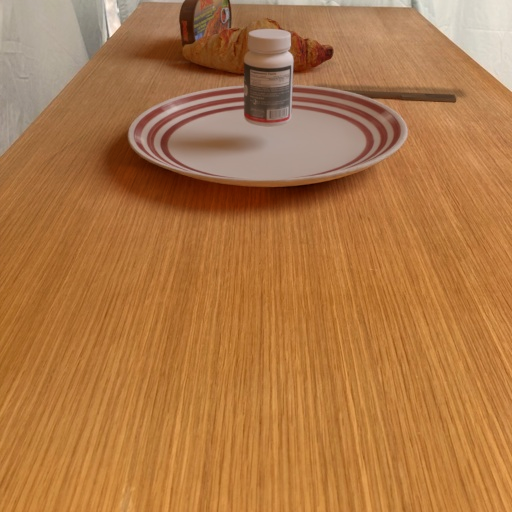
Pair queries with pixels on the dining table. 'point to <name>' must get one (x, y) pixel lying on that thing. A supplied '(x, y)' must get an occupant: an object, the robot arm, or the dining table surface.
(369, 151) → the dinner plate
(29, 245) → the dining table surface
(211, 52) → the croissant
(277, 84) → the pill bottle
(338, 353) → the dining table surface
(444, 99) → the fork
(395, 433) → the dining table surface
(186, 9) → the tin
